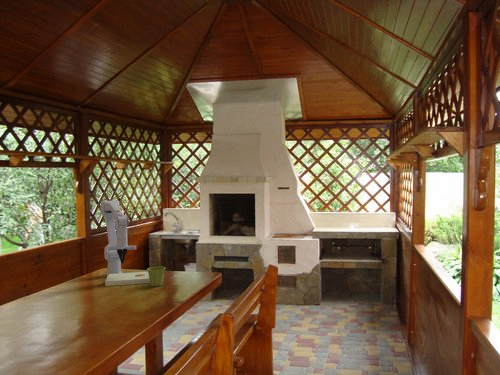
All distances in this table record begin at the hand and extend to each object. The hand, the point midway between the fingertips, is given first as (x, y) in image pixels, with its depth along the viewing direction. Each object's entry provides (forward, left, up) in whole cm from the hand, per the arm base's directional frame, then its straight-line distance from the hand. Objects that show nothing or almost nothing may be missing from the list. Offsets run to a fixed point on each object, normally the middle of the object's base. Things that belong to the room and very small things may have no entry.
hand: (122, 263), depth 225 cm
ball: (0, +10, -8) cm, 12 cm away
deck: (0, +4, -10) cm, 10 cm away
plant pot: (+14, +18, -10) cm, 25 cm away
